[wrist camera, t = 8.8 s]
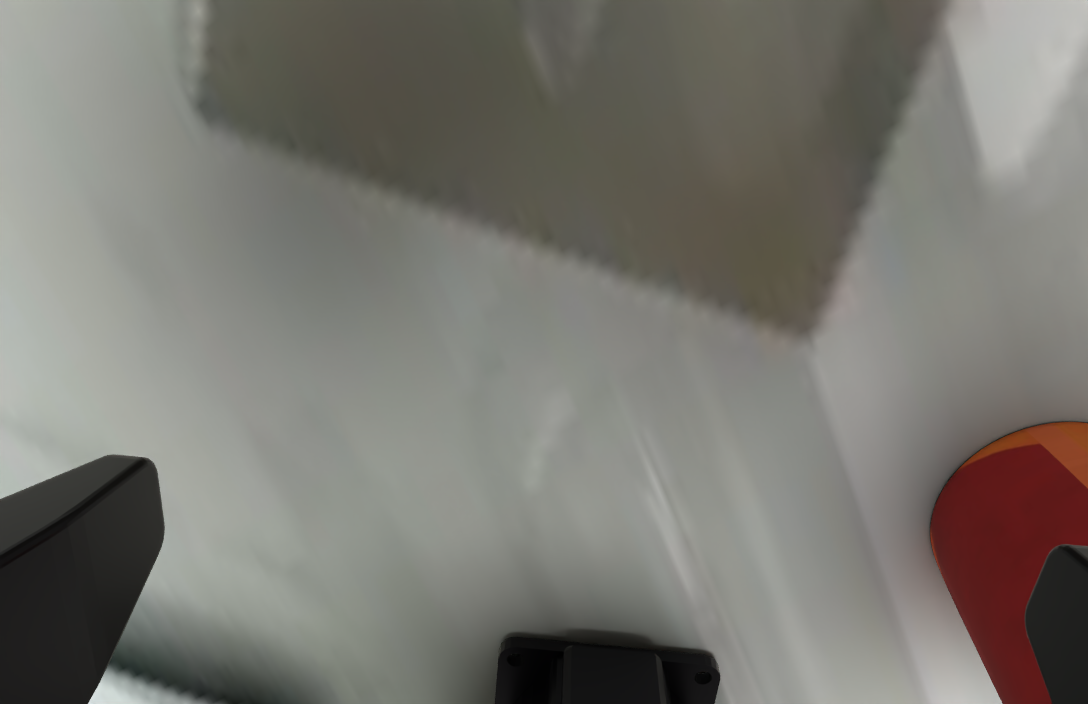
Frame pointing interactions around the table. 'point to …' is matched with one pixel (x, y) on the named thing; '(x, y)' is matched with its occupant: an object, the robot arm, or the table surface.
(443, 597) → the table surface
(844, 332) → the table surface
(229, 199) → the table surface
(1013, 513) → the coffee cup
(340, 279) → the table surface
